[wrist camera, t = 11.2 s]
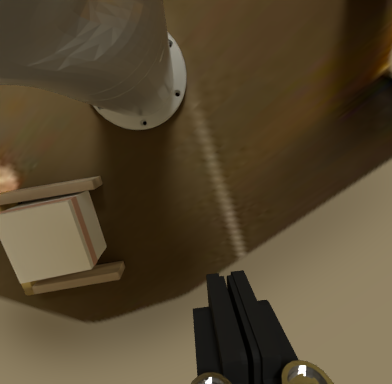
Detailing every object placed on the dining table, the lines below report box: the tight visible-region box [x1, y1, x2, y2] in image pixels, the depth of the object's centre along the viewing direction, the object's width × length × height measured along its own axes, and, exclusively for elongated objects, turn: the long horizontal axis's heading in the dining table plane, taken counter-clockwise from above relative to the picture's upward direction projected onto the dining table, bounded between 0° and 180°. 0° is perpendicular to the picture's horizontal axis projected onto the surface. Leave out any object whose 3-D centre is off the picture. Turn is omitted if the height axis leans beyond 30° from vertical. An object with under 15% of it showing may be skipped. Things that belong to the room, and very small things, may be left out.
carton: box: [0, 191, 107, 284], centre depth 30 cm, size 9×9×6 cm
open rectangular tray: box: [0, 176, 125, 296], centre depth 32 cm, size 14×13×3 cm
